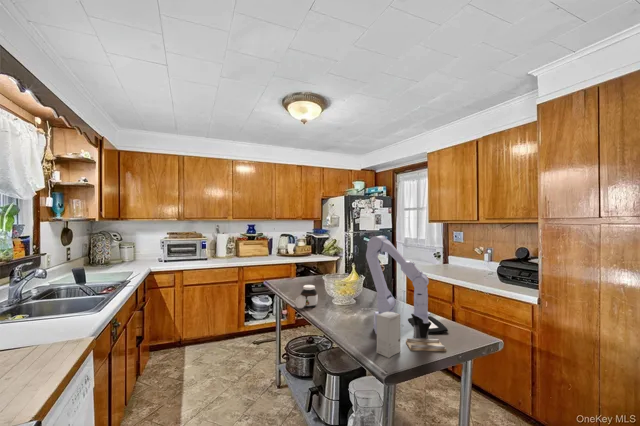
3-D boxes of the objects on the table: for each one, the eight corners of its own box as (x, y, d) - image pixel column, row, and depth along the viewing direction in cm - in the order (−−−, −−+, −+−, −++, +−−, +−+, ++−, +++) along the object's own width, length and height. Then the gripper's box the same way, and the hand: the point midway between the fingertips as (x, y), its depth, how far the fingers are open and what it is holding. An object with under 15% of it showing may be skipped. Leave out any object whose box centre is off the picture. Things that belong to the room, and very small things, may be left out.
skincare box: (388, 358, 108) (389, 318, 108) (375, 353, 112) (375, 314, 113) (401, 351, 114) (401, 313, 114) (388, 346, 118) (388, 309, 118)
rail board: (410, 350, 115) (410, 345, 115) (405, 342, 122) (405, 338, 122) (446, 351, 114) (446, 346, 114) (439, 343, 122) (439, 339, 122)
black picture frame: (405, 316, 150) (431, 313, 151) (405, 321, 150) (432, 318, 151) (420, 331, 131) (450, 327, 131) (420, 337, 131) (451, 334, 131)
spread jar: (318, 304, 174) (318, 285, 174) (314, 310, 163) (314, 289, 163) (299, 303, 177) (299, 284, 177) (293, 308, 166) (293, 288, 166)
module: (416, 340, 124) (416, 326, 124) (413, 336, 128) (413, 323, 128) (428, 340, 124) (428, 327, 124) (425, 337, 128) (425, 323, 128)
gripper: (436, 308, 119) (435, 341, 119) (424, 298, 133) (424, 327, 133) (418, 307, 119) (418, 340, 119) (409, 297, 134) (409, 327, 134)
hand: (420, 334), depth 126 cm, fingers open, 7 cm apart
